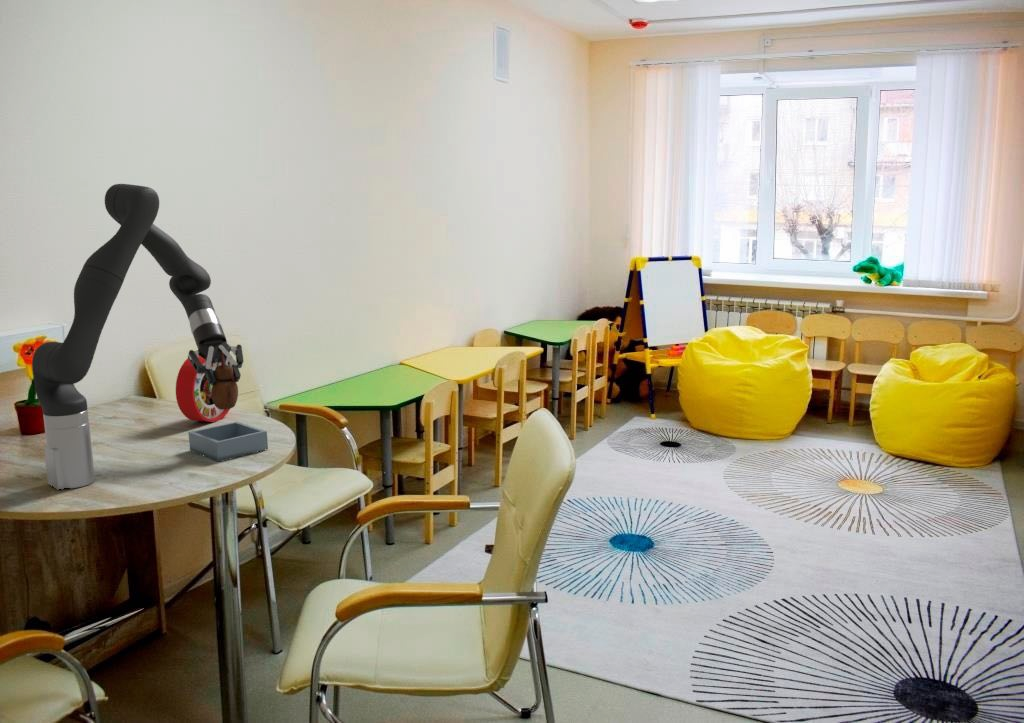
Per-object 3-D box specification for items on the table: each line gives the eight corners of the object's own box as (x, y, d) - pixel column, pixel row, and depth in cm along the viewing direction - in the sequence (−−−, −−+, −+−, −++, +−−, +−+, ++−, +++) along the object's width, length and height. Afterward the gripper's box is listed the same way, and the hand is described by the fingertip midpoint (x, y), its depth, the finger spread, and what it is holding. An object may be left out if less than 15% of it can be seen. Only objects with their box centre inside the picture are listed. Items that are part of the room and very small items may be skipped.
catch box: (218, 461, 223) (217, 442, 222) (190, 450, 233) (188, 432, 232) (268, 449, 233) (266, 431, 232) (238, 439, 243) (237, 421, 242)
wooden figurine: (229, 411, 227) (226, 353, 224) (208, 410, 228) (205, 352, 225) (242, 405, 233) (240, 349, 231) (222, 404, 235) (219, 348, 232)
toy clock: (195, 429, 253) (189, 360, 250) (178, 428, 255) (172, 359, 251) (238, 412, 272) (233, 348, 268) (222, 411, 274) (217, 347, 270)
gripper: (181, 324, 228) (200, 377, 221) (236, 318, 236) (256, 369, 229) (177, 341, 233) (195, 394, 226) (231, 335, 242) (250, 386, 235)
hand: (225, 381), depth 228 cm, fingers closed on wooden figurine, 5 cm apart
